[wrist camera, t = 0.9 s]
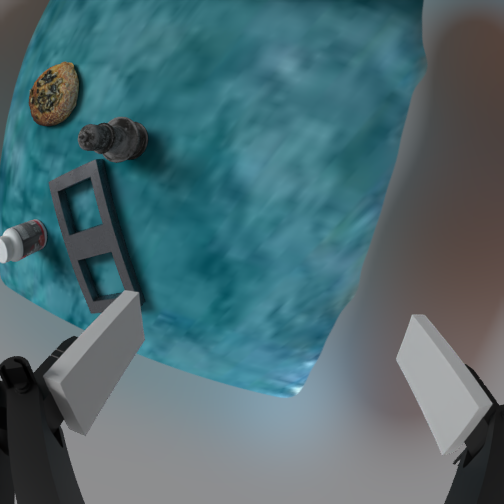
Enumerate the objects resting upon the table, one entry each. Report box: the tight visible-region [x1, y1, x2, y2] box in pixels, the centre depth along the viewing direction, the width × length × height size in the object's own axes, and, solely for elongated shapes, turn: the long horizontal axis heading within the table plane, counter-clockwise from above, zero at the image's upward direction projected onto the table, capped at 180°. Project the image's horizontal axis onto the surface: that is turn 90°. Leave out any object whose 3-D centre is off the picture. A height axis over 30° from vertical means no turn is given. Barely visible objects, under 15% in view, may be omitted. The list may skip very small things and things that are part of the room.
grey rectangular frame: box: [49, 159, 145, 314], centre depth 38 cm, size 22×10×2 cm, turn 13°
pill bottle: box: [0, 219, 47, 263], centre depth 35 cm, size 5×5×10 cm
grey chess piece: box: [78, 117, 148, 163], centre depth 29 cm, size 6×6×12 cm
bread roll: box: [29, 62, 79, 126], centre depth 31 cm, size 11×11×5 cm
